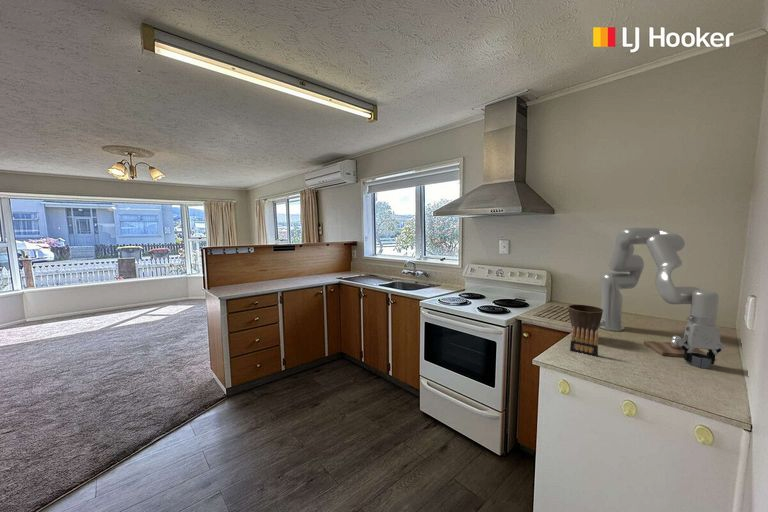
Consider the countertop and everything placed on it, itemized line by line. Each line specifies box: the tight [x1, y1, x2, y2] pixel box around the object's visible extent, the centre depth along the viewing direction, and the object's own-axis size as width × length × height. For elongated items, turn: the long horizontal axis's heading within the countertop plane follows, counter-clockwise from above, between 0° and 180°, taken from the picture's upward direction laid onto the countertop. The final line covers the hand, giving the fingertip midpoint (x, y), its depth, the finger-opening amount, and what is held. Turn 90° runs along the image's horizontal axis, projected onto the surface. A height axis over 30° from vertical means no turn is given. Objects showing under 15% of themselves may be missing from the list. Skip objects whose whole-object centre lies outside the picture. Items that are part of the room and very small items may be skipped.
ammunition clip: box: [569, 326, 599, 358], centre depth 139 cm, size 11×2×12 cm, turn 50°
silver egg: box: [670, 335, 683, 350], centre depth 140 cm, size 4×4×6 cm
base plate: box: [643, 340, 707, 358], centre depth 141 cm, size 18×14×2 cm
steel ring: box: [685, 352, 713, 370], centre depth 127 cm, size 7×7×4 cm
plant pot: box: [568, 304, 603, 340], centre depth 157 cm, size 15×15×16 cm
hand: (698, 361), depth 127 cm, fingers closed on steel ring, 7 cm apart
